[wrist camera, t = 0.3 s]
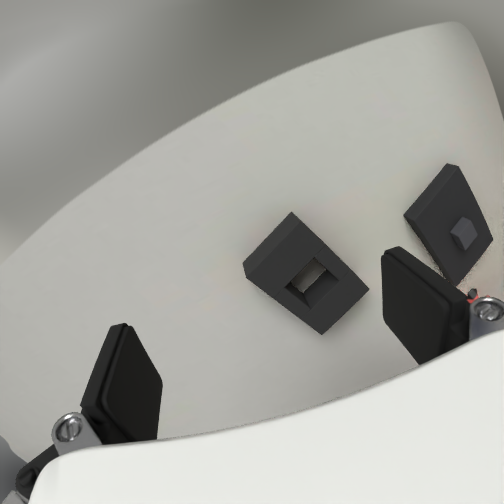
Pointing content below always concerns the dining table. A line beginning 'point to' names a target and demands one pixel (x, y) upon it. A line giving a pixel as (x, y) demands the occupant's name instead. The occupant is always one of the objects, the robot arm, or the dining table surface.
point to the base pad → (450, 224)
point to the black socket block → (291, 263)
